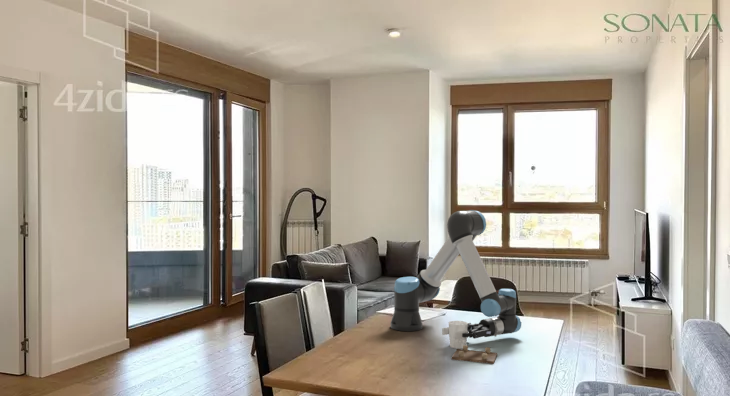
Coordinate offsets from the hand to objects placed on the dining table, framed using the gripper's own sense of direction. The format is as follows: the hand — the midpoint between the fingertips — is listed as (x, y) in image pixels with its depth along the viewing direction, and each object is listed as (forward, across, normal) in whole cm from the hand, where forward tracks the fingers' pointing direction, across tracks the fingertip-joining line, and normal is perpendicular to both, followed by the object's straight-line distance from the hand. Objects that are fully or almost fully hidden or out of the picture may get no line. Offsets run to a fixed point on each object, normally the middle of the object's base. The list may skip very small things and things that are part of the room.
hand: (448, 333), depth 239 cm
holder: (-1, -15, -6) cm, 16 cm away
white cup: (-5, 0, -6) cm, 8 cm away
